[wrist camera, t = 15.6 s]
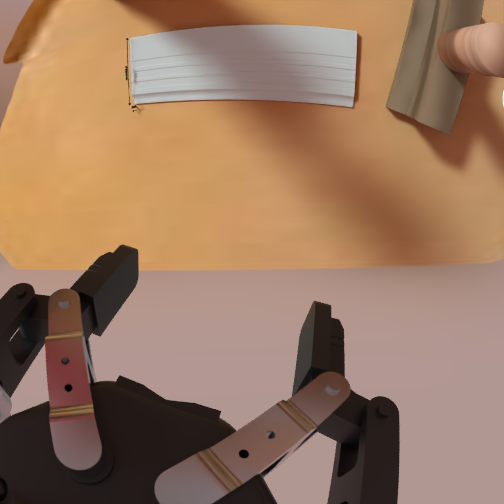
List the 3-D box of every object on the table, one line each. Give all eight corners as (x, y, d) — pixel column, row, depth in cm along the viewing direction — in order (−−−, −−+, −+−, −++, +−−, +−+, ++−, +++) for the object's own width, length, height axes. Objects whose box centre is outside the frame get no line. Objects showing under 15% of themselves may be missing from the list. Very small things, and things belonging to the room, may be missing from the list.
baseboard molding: (351, 116, 39) (355, 32, 33) (353, 119, 37) (358, 29, 30) (137, 112, 44) (134, 38, 37) (127, 115, 41) (124, 37, 35)
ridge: (385, 106, 37) (400, 114, 30) (417, -20, 26) (436, -35, 19) (443, 130, 36) (466, 144, 29) (474, 9, 25) (501, 2, 18)
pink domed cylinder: (433, 61, 26) (472, 60, 17) (442, 23, 23) (482, 11, 15) (470, 80, 25) (516, 88, 17) (479, 43, 23) (526, 41, 14)
